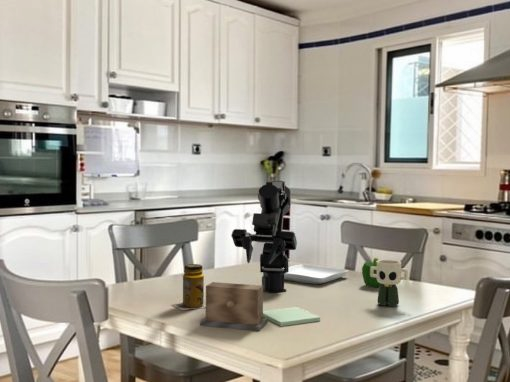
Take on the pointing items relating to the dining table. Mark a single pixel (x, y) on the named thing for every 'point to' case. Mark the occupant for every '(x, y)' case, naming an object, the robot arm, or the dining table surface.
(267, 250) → the robot arm
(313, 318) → the sage pad
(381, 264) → the character mug
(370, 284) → the bell pepper
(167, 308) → the dining table surface
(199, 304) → the condiment
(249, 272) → the dining table surface
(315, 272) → the salad plate
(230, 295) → the walnut unit
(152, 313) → the dining table surface
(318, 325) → the dining table surface
